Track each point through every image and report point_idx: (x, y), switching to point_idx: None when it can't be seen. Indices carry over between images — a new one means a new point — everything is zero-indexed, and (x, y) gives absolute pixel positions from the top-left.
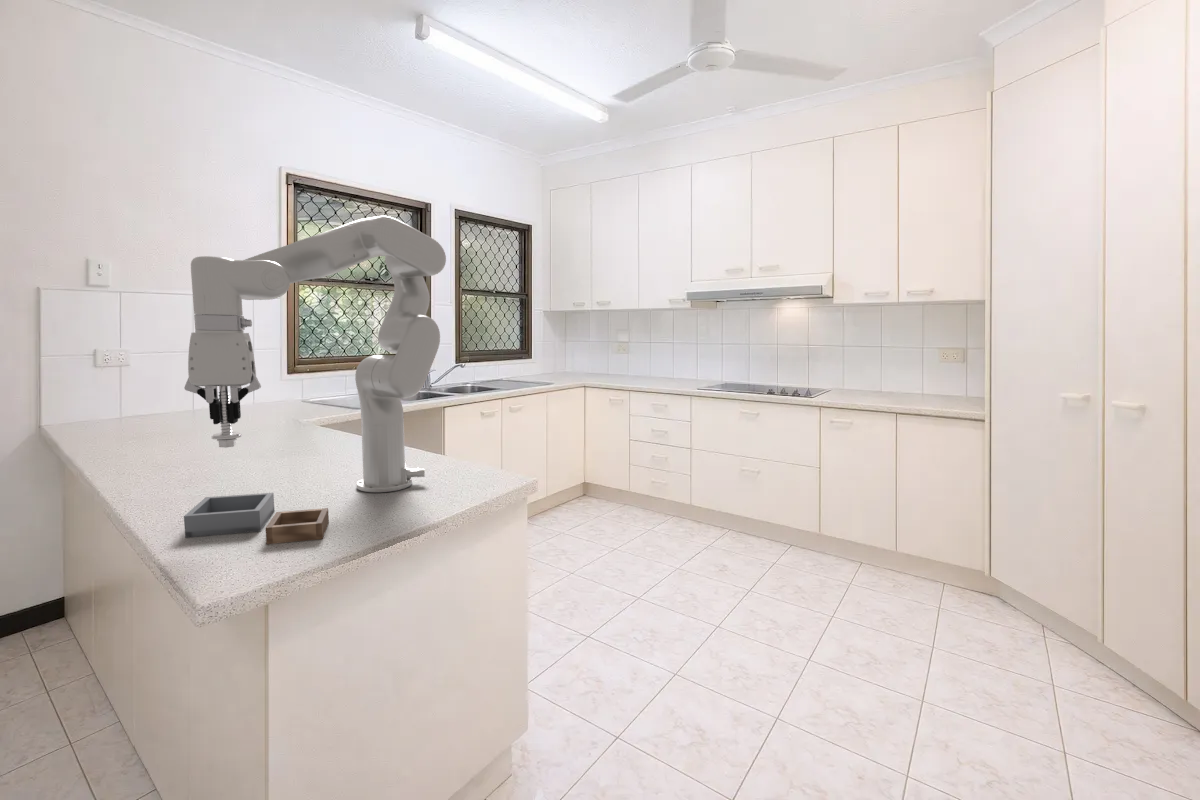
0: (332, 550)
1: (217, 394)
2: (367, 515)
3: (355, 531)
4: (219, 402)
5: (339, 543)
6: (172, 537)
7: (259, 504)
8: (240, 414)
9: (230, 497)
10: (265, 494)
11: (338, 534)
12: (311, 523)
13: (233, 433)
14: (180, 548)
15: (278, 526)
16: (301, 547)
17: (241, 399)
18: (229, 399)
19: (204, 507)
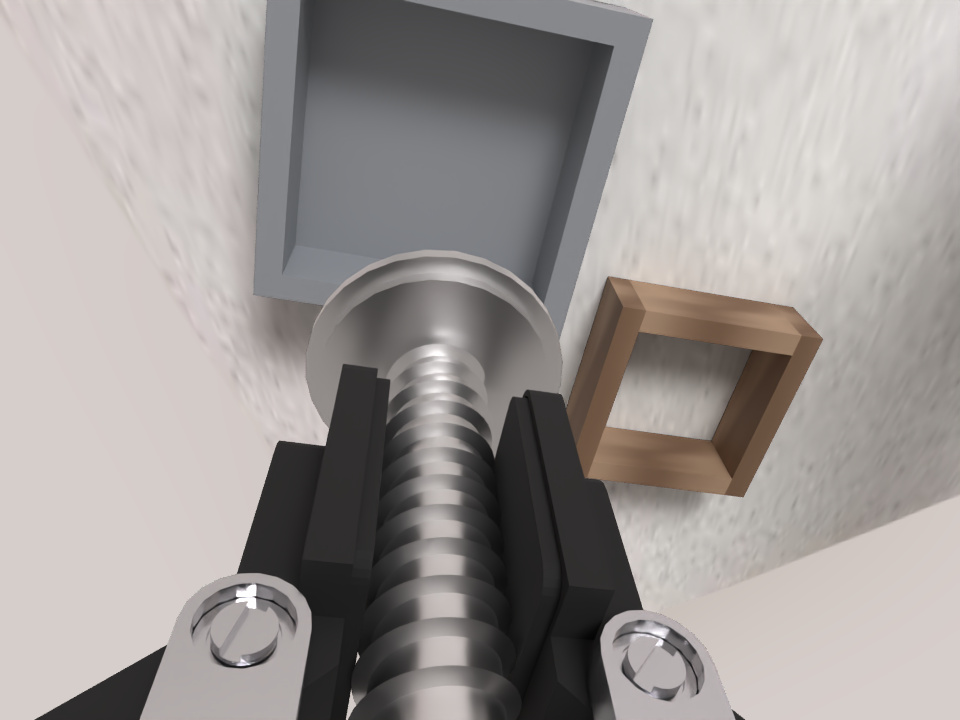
0: (721, 546)
1: (298, 710)
2: (954, 278)
3: (836, 431)
4: (355, 624)
5: (754, 507)
6: (219, 226)
7: (564, 246)
8: (604, 496)
9: (417, 2)
10: (607, 42)
11: (779, 436)
12: (712, 488)
13: (494, 385)
14: (288, 364)
15: (608, 477)
16: (650, 496)
17: (689, 651)
18: (511, 710)
19: (298, 90)
